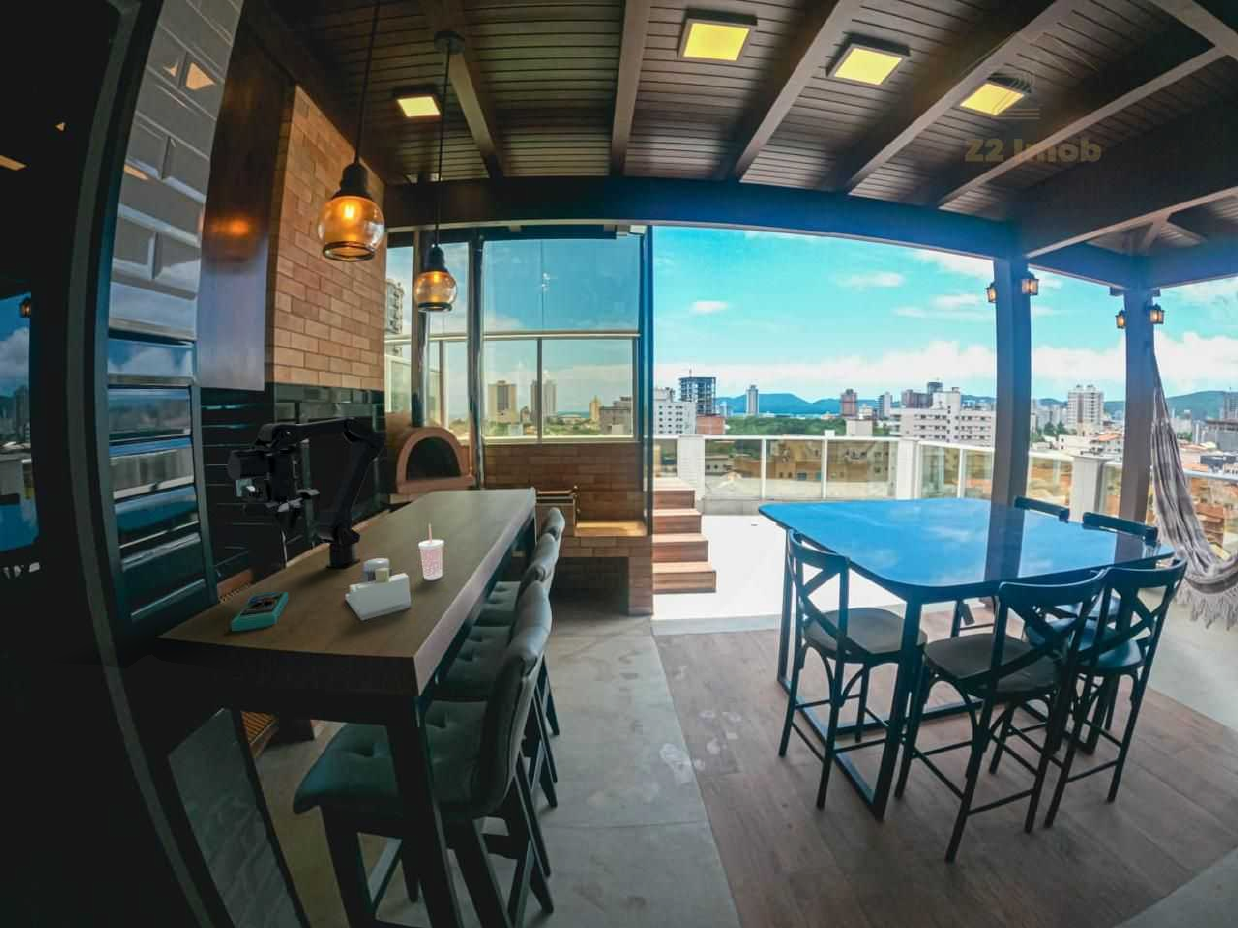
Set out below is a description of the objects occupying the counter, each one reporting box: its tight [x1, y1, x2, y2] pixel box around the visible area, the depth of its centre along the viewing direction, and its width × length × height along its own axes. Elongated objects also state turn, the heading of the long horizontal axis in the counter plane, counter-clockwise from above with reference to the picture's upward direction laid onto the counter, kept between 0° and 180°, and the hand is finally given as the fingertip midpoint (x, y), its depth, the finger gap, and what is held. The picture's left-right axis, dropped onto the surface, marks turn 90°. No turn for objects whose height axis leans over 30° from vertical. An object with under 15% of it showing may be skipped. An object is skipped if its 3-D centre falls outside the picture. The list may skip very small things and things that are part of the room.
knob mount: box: [345, 568, 412, 621], centre depth 111 cm, size 14×10×9 cm
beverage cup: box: [418, 523, 444, 581], centre depth 127 cm, size 6×6×14 cm
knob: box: [361, 557, 394, 583], centre depth 109 cm, size 5×5×9 cm
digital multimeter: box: [230, 591, 290, 632], centre depth 106 cm, size 7×15×3 cm, turn 23°
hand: (287, 535), depth 124 cm, fingers closed
